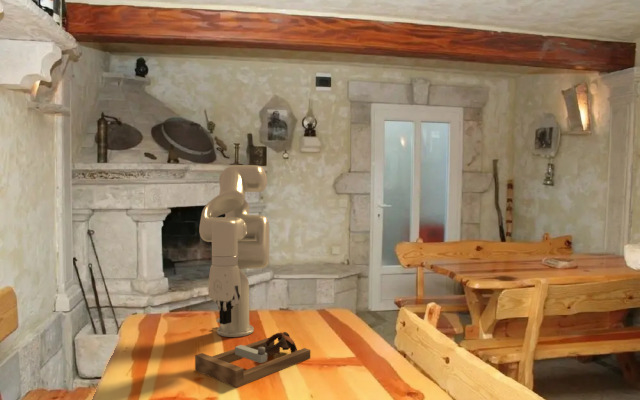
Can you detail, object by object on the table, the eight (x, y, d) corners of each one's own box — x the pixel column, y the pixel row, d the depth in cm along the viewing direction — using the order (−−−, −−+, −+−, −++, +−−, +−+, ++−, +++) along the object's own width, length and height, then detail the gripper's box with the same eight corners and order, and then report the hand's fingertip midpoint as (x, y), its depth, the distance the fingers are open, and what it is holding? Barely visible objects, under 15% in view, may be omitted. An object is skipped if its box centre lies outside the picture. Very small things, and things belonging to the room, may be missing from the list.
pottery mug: (299, 364, 154) (285, 342, 152) (271, 376, 156) (257, 354, 154) (303, 341, 166) (290, 320, 164) (277, 352, 168) (264, 332, 165)
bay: (195, 370, 148) (195, 355, 148) (269, 345, 170) (269, 331, 169) (236, 387, 136) (236, 370, 136) (310, 358, 158) (310, 343, 158)
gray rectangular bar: (235, 354, 153) (234, 341, 153) (241, 352, 155) (241, 339, 155) (260, 363, 146) (260, 349, 146) (267, 360, 148) (267, 347, 148)
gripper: (199, 260, 158) (199, 321, 159) (231, 265, 148) (231, 330, 149) (219, 257, 164) (219, 316, 164) (251, 262, 154) (252, 324, 154)
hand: (225, 323), depth 156 cm, fingers closed
